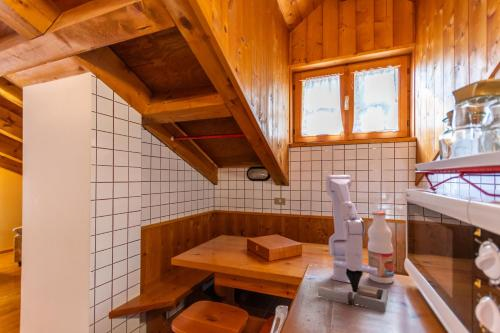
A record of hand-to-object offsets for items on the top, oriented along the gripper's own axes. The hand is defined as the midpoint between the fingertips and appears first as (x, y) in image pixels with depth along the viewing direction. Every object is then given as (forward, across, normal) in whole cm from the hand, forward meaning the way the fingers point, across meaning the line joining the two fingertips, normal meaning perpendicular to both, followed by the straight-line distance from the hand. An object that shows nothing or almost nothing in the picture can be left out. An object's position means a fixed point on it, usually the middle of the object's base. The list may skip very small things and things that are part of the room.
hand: (355, 291), depth 90 cm
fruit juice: (+2, +6, +22) cm, 23 cm away
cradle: (+2, +5, 0) cm, 6 cm away
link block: (+2, +4, 0) cm, 5 cm away
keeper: (+2, -6, -6) cm, 9 cm away
